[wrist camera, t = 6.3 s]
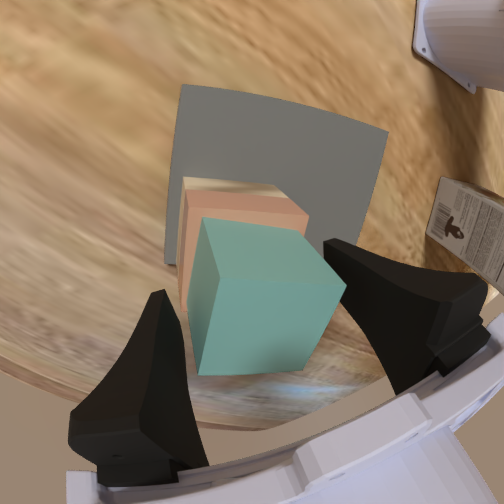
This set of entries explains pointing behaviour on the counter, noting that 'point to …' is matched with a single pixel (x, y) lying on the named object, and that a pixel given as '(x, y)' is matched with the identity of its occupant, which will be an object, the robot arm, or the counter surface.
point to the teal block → (257, 298)
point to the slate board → (276, 157)
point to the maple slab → (221, 186)
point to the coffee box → (471, 227)
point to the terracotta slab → (232, 209)
